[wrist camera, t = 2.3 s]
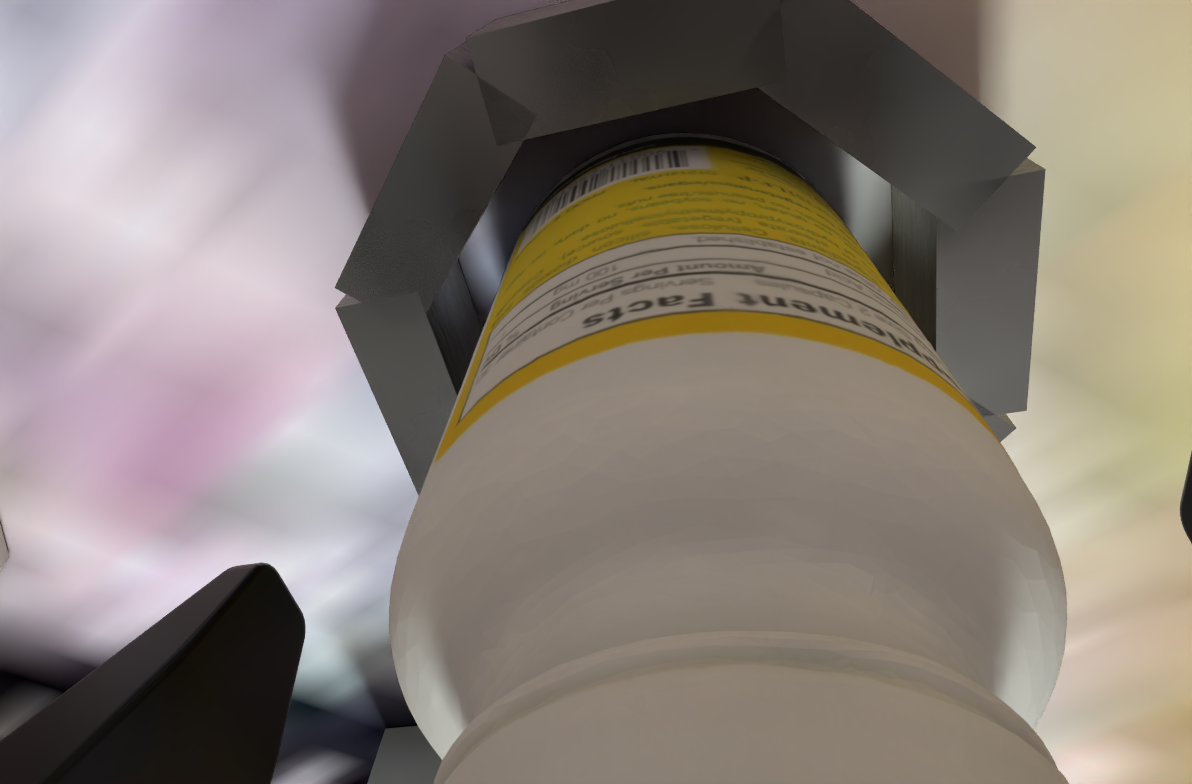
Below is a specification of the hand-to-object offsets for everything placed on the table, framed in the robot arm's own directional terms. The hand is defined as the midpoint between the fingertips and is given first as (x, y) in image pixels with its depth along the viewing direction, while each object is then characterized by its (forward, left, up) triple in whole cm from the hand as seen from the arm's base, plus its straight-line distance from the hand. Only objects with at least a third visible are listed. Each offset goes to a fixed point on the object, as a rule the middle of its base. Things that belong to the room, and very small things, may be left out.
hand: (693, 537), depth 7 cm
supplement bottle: (0, 0, -6) cm, 6 cm away
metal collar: (0, 0, -5) cm, 5 cm away
